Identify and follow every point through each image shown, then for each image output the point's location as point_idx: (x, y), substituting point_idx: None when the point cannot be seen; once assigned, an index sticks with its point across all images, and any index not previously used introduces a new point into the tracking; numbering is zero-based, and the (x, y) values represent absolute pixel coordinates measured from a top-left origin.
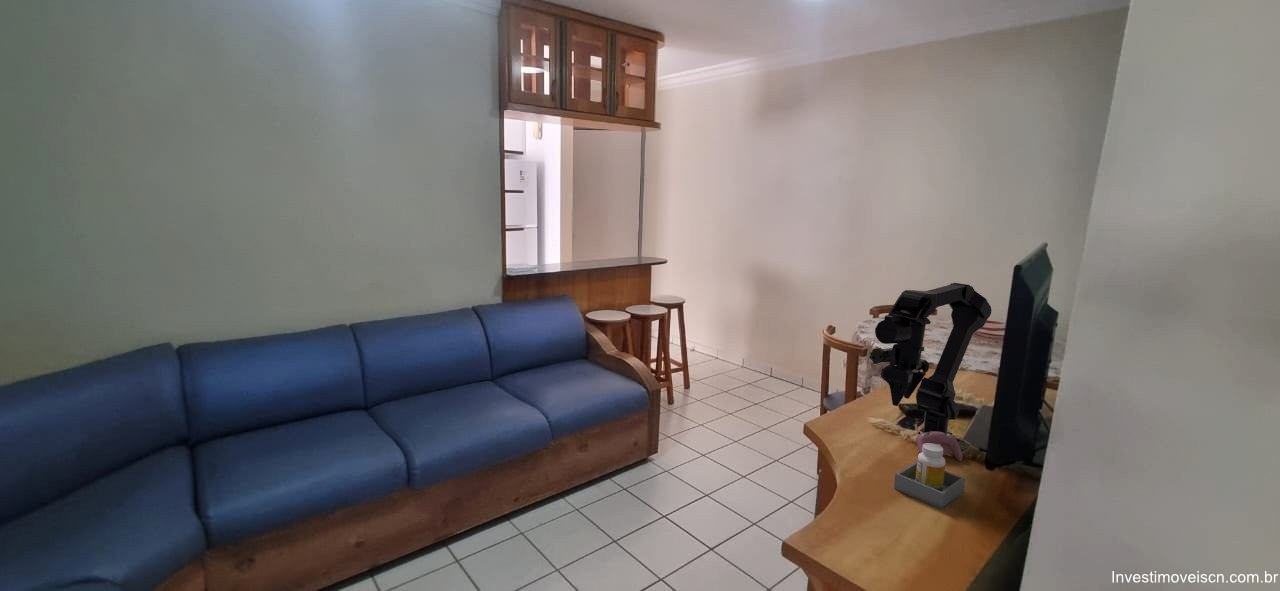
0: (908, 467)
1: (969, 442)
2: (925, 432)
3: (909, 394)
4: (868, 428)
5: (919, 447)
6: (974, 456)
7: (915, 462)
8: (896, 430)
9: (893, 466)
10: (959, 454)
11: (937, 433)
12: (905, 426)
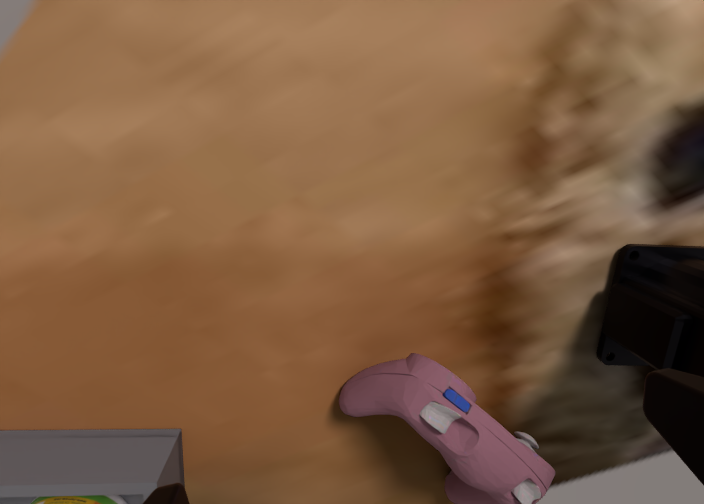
0: (32, 491)
1: None
2: (618, 296)
3: (696, 460)
4: (503, 13)
5: (368, 384)
6: None
7: (118, 487)
8: (588, 150)
9: (159, 336)
10: (455, 500)
11: (479, 474)
12: (676, 159)
